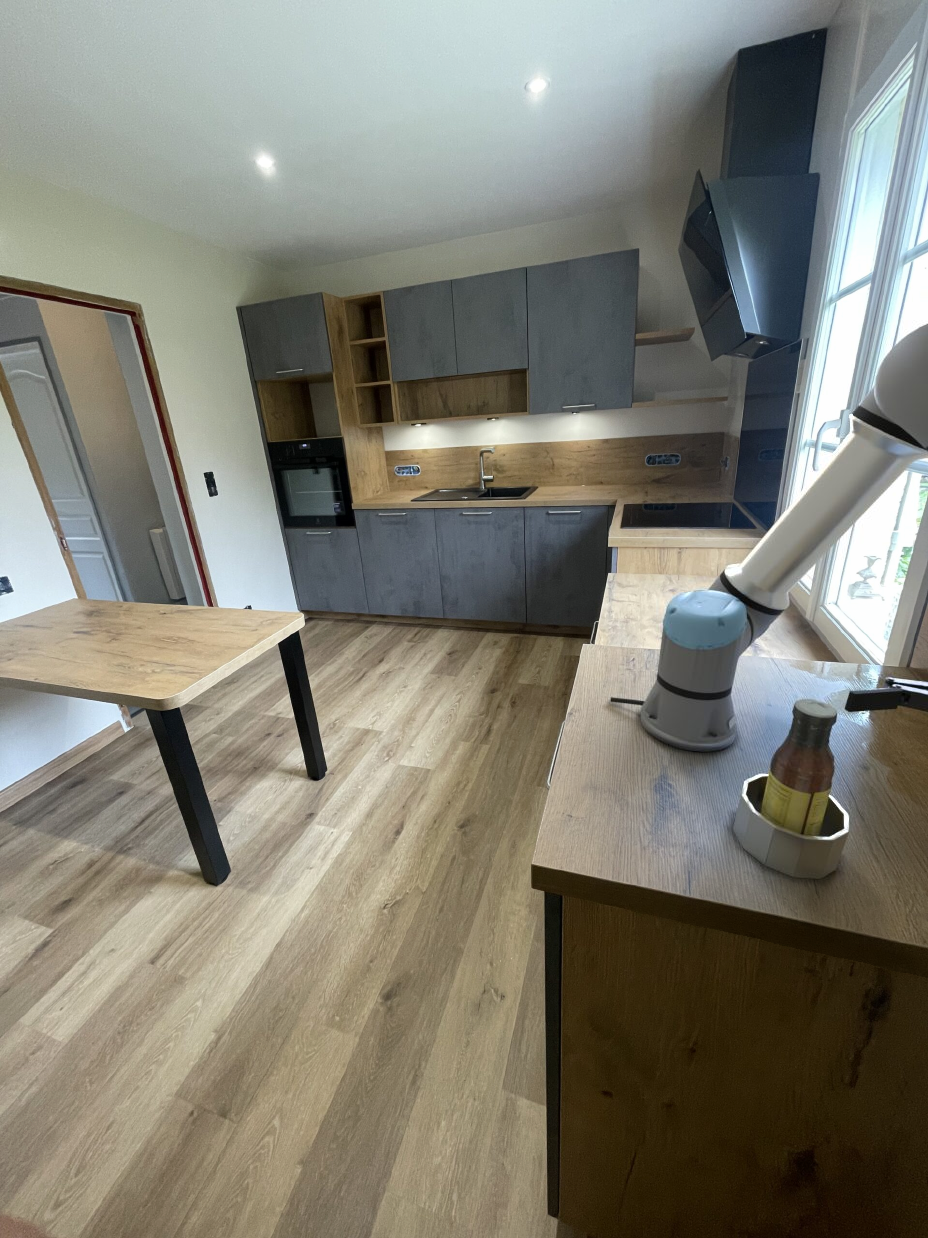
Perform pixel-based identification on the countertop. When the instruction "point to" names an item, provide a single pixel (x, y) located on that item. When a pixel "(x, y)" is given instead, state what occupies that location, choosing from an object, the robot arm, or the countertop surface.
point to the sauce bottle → (802, 771)
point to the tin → (789, 836)
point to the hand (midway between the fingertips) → (895, 732)
